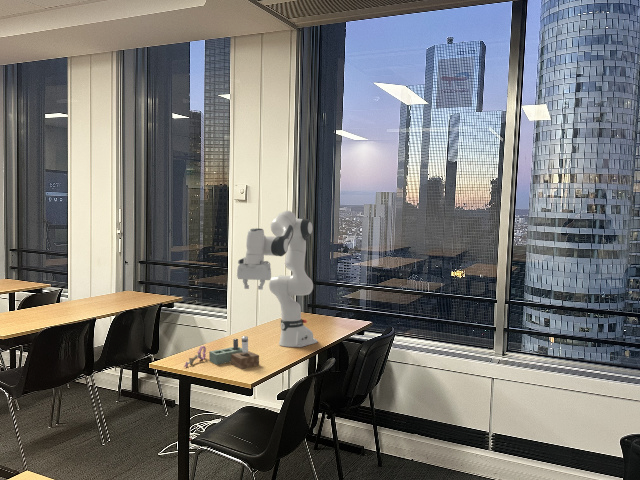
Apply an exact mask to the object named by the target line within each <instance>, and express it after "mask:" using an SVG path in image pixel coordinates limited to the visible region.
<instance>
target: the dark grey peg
mask: <svg viewBox="0 0 640 480" xmlns="http://www.w3.org/2000/svg"><path fill="white" fill-rule="evenodd" d="M232 340H233V342H232V343H233V345H232V347H233V350H238V347H239V339H238V338H233V339H232Z"/></svg>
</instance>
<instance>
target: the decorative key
mask: <svg viewBox="0 0 640 480" xmlns="http://www.w3.org/2000/svg"><path fill="white" fill-rule="evenodd" d="M202 350H203V351H202ZM206 352H207V348H206V346H204V345H201V346H199V349H198V350H197V352H196V353H197V354H195V355H194V356H193V357H188V359H189V360H188V361H186V362H185V364H184V366H183V368H186V367H187V366H188V367H189V365H190V366H193V365H194V362H195V361H196V360H198V359H200V360H205V359H206V356H207V354H206ZM188 367H187V368H188Z"/></svg>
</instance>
